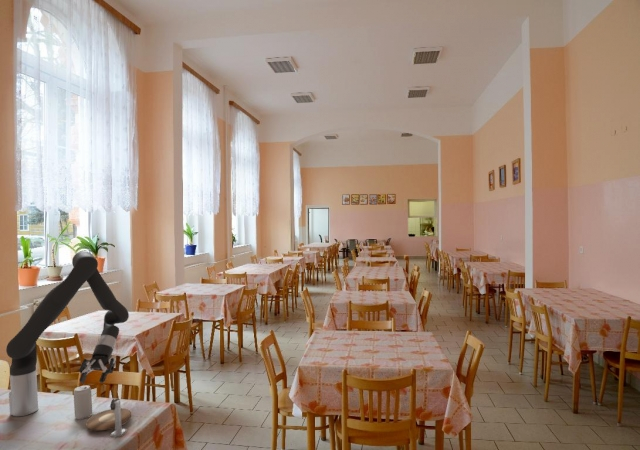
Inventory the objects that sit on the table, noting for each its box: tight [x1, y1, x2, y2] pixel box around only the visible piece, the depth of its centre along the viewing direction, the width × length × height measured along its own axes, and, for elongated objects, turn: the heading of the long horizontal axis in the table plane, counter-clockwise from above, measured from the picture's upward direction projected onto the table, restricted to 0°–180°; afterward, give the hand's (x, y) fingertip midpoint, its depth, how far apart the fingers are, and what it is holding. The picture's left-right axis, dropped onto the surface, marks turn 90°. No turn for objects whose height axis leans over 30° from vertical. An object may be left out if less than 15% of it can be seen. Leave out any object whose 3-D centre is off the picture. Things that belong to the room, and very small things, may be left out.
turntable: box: [85, 408, 133, 432], centre depth 170 cm, size 16×16×1 cm
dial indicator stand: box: [109, 398, 128, 438], centre depth 162 cm, size 4×5×13 cm
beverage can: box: [73, 385, 93, 420], centre depth 178 cm, size 6×6×12 cm
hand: (91, 382), depth 184 cm, fingers open, 8 cm apart
